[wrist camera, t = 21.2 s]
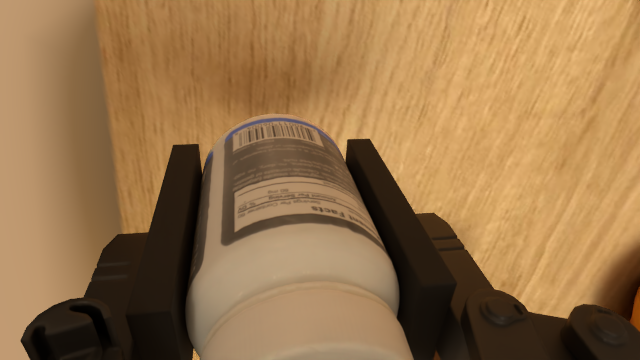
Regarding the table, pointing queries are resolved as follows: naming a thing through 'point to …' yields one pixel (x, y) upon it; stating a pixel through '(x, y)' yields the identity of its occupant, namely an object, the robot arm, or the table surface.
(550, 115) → the table surface
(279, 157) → the pill bottle
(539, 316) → the robot arm
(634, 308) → the decorative pumpkin
